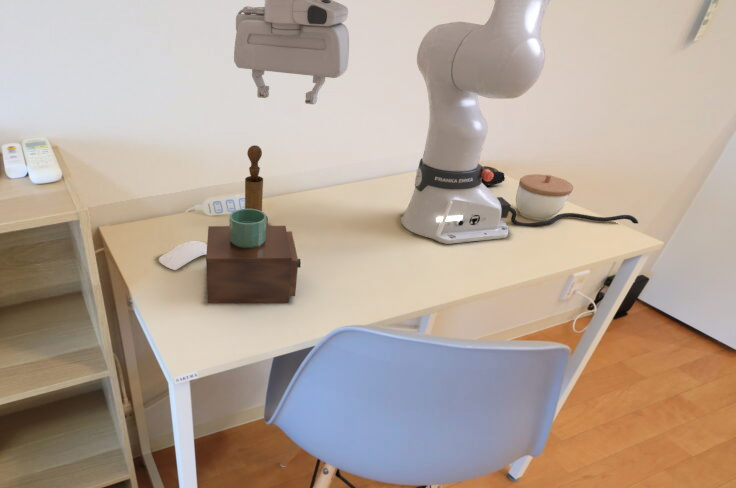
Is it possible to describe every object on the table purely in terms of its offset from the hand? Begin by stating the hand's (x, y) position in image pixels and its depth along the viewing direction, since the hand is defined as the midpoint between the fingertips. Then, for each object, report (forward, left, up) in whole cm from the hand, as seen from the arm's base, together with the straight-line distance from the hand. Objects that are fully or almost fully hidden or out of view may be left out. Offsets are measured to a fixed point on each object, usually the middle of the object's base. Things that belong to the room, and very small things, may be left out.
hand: (286, 100), depth 92 cm
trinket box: (-61, -15, -29) cm, 69 cm away
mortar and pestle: (+5, -10, -29) cm, 31 cm away
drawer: (+5, +15, -28) cm, 32 cm away
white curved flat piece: (+19, +4, -29) cm, 35 cm away
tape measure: (-57, -34, -29) cm, 73 cm away
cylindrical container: (+7, +15, -20) cm, 26 cm away
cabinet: (+7, +15, -29) cm, 33 cm away
